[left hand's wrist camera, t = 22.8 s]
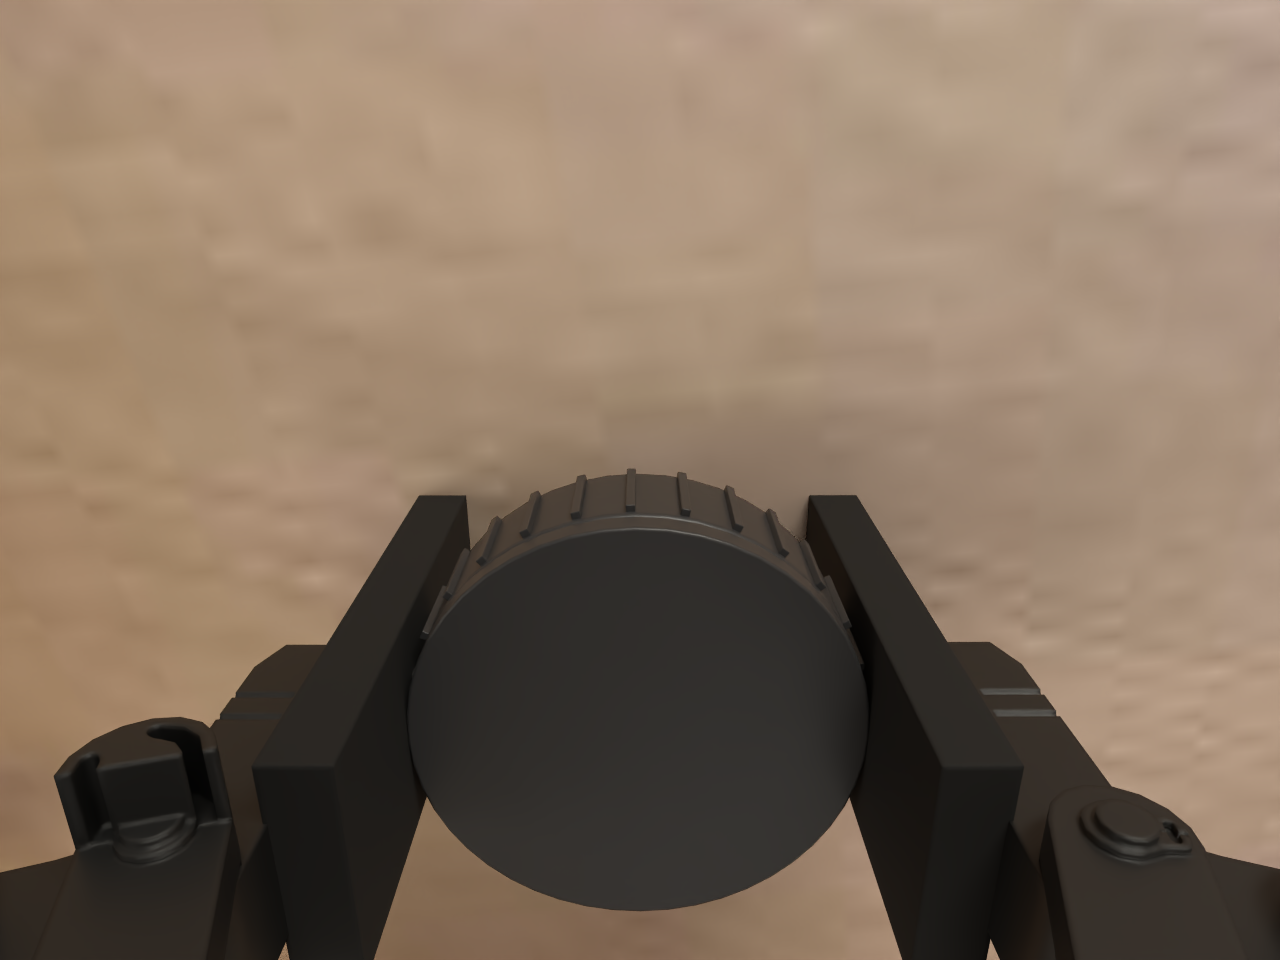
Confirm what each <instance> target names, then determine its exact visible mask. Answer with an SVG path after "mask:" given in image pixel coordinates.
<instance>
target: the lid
mask: <svg viewBox="0 0 1280 960" xmlns="http://www.w3.org/2000/svg"><path fill="white" fill-rule="evenodd" d="M851 627H852V625H851V623H850V621H849V618H848V616H847V614H846V611H845V609H844V607H843V604H842V602H841V600H840V597H839V595H838V593H837V590H836V588H835V586H834V583H833V581H832V579H831V577H830V575H828V576H826V577H824V578H823V575H822V573H821V571H820V570H819V568H818V565H817V563H816V561H815V558H814V556H813V553H812V551H811V548H810V546H809V544H808V543H807V541H806V540H805V539H803V540H802V541H801V542H798V541H797V540H796V539H795V537H794V536H793V535H792V534H791V533H790V532H789V531H788V530H787V529H785V528H784V527H783V526H782V525H781V524H779V521H778V519H777V516H776V513H775V512H774V511H773V510H771V509H768V510H767V512H766V513H765V512H764V511H762V510H760V509H759V508H757V507H756V506H754V505H752V504H751V503H749V502H748V501H746V500H744V499H742V498H740V497H737V496H736V495H735V491H734V488H731V487H729V486H726V487H725V489H724V490H722V489H719V488H716V487H713V486H710V485H706V484H703V483H700V482H697V481H693V480H688V479H687V476H686V473H681V472H678V474H677V477H671V476H665V475H647V474H636V469H627V475H614V476H605V477H600V478H594V479H589V480H587V479H586V475H581V476H578V477H577V481H576V483H573V484H570V485H567V486H564V487H561V488H558V489H555V490H552V491H550V492H548V493H546V494H544V495H542V496H541V495H540V493H539V491H536V492H534V493H532V494H531V496H530V499H529V502H527V503H525V504H524V505H522V506H521V507H519V508H518V509H516V510H515V511H513V512H512V513H510V514H509V515H507V516H506V517H504V518H503V519H502V520H501V519H500V518H499V517H498V516H496V517H495V518H494V519H493V520H492V521H491V523H490V526H489V528H488V531H487V533H486V534H485V535H484V536H483V537H482V538H481V539H480V540H479V542H478V543H477V544H476V545H475V546H474V547H473V548H472V550H471V551H469V550H467V549H466V548H465V549H464V550H463V551H462V552H461V554H460V556H459V559H458V561H457V563H456V566H455V568H454V570H453V573H452V575H451V577H450V579H449V582H448V584H447V586H444V585H443V586H442V588H441V590H440V592H439V595H438V597H437V599H436V601H435V604H434V606H433V608H432V610H431V613H430V615H429V617H428V619H427V622H426V624H425V626H424V628H423V631H422V633H421V635H420V638H421V639H423V640H426V641H425V644H424V646H423V649H422V651H421V653H420V655H419V658H418V660H417V662H416V666H415V668H414V671H413V673H412V680H411V684H410V688H409V696H408V706H407V730H408V741H409V746H410V751H411V755H412V760H413V764H414V767H415V770H416V772H417V775H418V778H419V780H420V783H421V786H422V788H423V790H424V792H425V794H426V795H427V797H428V799H429V801H430V803H431V805H432V806H433V808H434V810H435V811H436V813H437V814H438V815H439V817H440V818H441V819H442V821H443V822H444V823H445V825H446V826H447V827H448V829H449V830H450V831H451V832H452V833H453V834H454V835H455V836H456V837H457V838H458V839H459V840H460V841H461V842H462V843H463V844H464V845H465V847H466V848H467V849H469V850H470V851H471V852H472V853H474V854H475V855H476V856H477V857H479V858H480V859H481V860H482V861H484V862H485V863H486V864H487V865H489V866H490V867H492V868H494V869H495V870H497V871H498V872H500V873H502V874H503V875H505V876H506V877H508V878H509V879H511V880H513V881H516V882H518V883H520V884H522V885H524V886H526V887H528V888H530V889H532V890H534V891H537V892H540V893H542V894H545V895H548V896H551V897H554V898H556V899H559V900H563V901H567V902H571V903H575V904H579V905H583V906H589V907H596V908H603V909H610V910H625V911H652V910H669V909H675V908H681V907H688V906H694V905H698V904H702V903H706V902H710V901H714V900H717V899H721V898H724V897H727V896H729V895H732V894H735V893H737V892H740V891H743V890H745V889H748V888H750V887H752V886H754V885H756V884H758V883H759V882H761V881H763V880H765V879H767V878H769V877H771V876H773V875H774V874H776V873H777V872H779V871H780V870H782V869H783V868H785V867H786V866H788V865H790V864H791V863H793V862H794V861H795V860H796V859H797V858H799V857H800V856H801V855H802V854H803V853H804V852H806V851H807V850H808V849H809V848H810V847H812V846H813V845H814V844H815V843H816V841H817V840H818V839H819V838H820V837H821V836H822V835H823V834H824V833H825V832H826V831H827V830H828V829H829V827H830V826H831V825H832V823H833V822H834V821H835V819H836V818H837V816H838V815H839V814H840V812H841V811H842V809H843V808H844V806H845V805H846V803H847V801H848V799H849V797H850V795H851V793H852V791H853V789H854V787H855V785H856V783H857V780H858V777H859V774H860V771H861V768H862V765H863V762H864V759H865V754H866V748H867V742H868V736H869V711H870V709H869V702H868V695H867V688H866V682H865V679H864V676H863V673H862V671H863V670H865V664H864V661H863V659H862V656H861V654H860V652H859V649H858V647H857V644H856V642H855V640H854V637H853V635H852V633H851V630H850V628H851Z"/></svg>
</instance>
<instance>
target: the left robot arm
mask: <svg viewBox="0 0 1280 960" xmlns="http://www.w3.org/2000/svg"><path fill="white" fill-rule="evenodd" d="M806 541H807V543H808V544H809V546H810V548H811V551H812V553H813V556H814V558H815V561H816V563H817V565H818V568H819V570H820V571H821V573H822V575H823V578H824V577H826V576H828V575H830V577H831V579H832V581H833V583H834V586H835V588H836V590H837V593H838V595H839V597H840V600H841V602H842V604H843V607H844V609H845V611H846V614H847V616H848V618H849V621H850V623H851V625H852V627H851V628H850V630H851V633H852V635H853V637H854V640H855V642H856V644H857V647H858V649H859V652H860V654H861V656H862V659H863V661H864V664H865V670H863V671H862V673H863V676H864V679H865V682H866V688H867V695H868V702H869V709H870V711H869V736H868V742H867V748H866V754H865V759H864V762H863V765H862V768H861V771H860V774H859V777H858V780H857V783H856V785H855V787H854V789H853V791H852V793H851V795H850V801H851V804H852V807H853V810H854V813H855V816H856V819H857V822H858V825H859V828H860V831H861V834H862V837H863V840H864V843H865V847H866V850H867V853H868V856H869V859H870V862H871V865H872V868H873V871H874V874H875V877H876V880H877V883H878V886H879V889H880V893H881V896H882V899H883V902H884V905H885V908H886V911H887V914H888V917H889V920H890V923H891V926H892V929H893V932H894V935H895V939H896V942H897V945H898V948H899V951H900V954H901V957H902V960H986V959H987V954H988V949H989V944H990V939H991V941H992V943H993V945H994V947H995V950H996V952H997V954H998V956H999V959H1000V960H1280V869H1277V868H1272V867H1268V866H1263V865H1259V864H1254V863H1250V862H1245V861H1241V860H1236V859H1232V858H1227V857H1223V856H1219V855H1216V854H1212V853H1209V852H1206V851H1205V848H1204V847H1203V845H1202V844H1201V842H1200V841H1199V839H1198V838H1197V836H1196V835H1195V833H1194V832H1193V830H1192V829H1191V827H1189V826H1188V825H1187V824H1186V823H1184V822H1183V821H1182V820H1181V819H1180V818H1178V817H1177V816H1176V815H1175V814H1173V813H1172V812H1171V811H1170V810H1169V809H1167V808H1165V807H1163V806H1161V805H1159V804H1157V803H1155V802H1153V801H1151V800H1149V799H1147V798H1145V797H1144V796H1142V795H1139V794H1136V793H1132V792H1129V791H1125V790H1122V789H1118V788H1115V787H1112V786H1111V785H1110V784H1109V782H1108V781H1107V780H1106V778H1105V777H1104V776H1103V774H1102V773H1101V771H1100V770H1099V769H1098V767H1097V766H1096V765H1095V763H1094V762H1093V761H1092V759H1091V758H1090V757H1089V755H1088V754H1087V752H1086V751H1085V750H1084V748H1083V747H1082V746H1081V744H1080V743H1079V742H1078V740H1077V739H1076V737H1075V736H1074V735H1073V733H1072V732H1071V731H1070V729H1069V728H1068V727H1067V725H1066V724H1065V723H1064V721H1063V720H1062V718H1061V717H1060V716H1056V710H1055V709H1054V708H1053V706H1052V705H1051V703H1050V702H1049V701H1048V699H1047V698H1046V697H1045V695H1041V693H1040V688H1039V687H1038V686H1037V684H1036V683H1035V682H1034V680H1033V679H1032V678H1031V676H1030V675H1029V674H1028V672H1027V671H1026V669H1025V668H1024V667H1023V665H1022V664H1021V663H1019V662H1018V661H1016V660H1015V659H1014V658H1012V657H1011V656H1009V655H1008V654H1006V653H1005V652H1003V651H1002V650H1000V649H999V648H998V647H996V646H995V645H993V644H992V643H990V642H947V641H946V639H945V638H944V636H943V634H942V633H941V631H940V630H939V628H938V626H937V625H936V623H935V621H934V620H933V618H932V617H931V615H930V613H929V612H928V610H927V609H926V607H925V605H924V604H923V602H922V601H921V599H920V597H919V596H918V594H917V592H916V591H915V589H914V588H913V586H912V584H911V583H910V581H909V580H908V578H907V576H906V575H905V573H904V572H903V570H902V568H901V567H900V565H899V563H898V562H897V560H896V559H895V557H894V555H893V554H892V552H891V551H890V549H889V547H888V546H887V544H886V542H885V541H884V539H883V538H882V536H881V534H880V533H879V531H878V530H877V528H876V526H875V525H874V523H873V522H872V520H871V518H870V517H869V515H868V513H867V512H866V510H865V509H864V507H863V505H862V504H861V502H860V501H859V499H858V497H857V496H856V495H817V496H810V497H809V510H808V523H807V536H806ZM465 548H466V549H467V550H469V551H470V540H469V527H468V515H467V503H466V496H419V497H418V498H417V500H416V501H415V503H414V505H413V506H412V508H411V510H410V511H409V513H408V514H407V516H406V518H405V519H404V521H403V522H402V524H401V526H400V527H399V529H398V530H397V532H396V534H395V535H394V537H393V539H392V540H391V542H390V543H389V545H388V547H387V548H386V550H385V551H384V553H383V555H382V556H381V558H380V559H379V561H378V563H377V564H376V566H375V568H374V569H373V571H372V572H371V574H370V576H369V577H368V579H367V580H366V582H365V584H364V585H363V587H362V589H361V590H360V592H359V593H358V595H357V597H356V598H355V600H354V601H353V603H352V605H351V606H350V608H349V609H348V611H347V613H346V614H345V616H344V618H343V619H342V621H341V622H340V624H339V626H338V627H337V629H336V630H335V632H334V634H333V635H332V637H331V638H330V640H329V642H328V643H327V645H286V646H284V647H283V648H281V649H280V650H278V651H277V652H275V653H274V654H273V655H271V656H270V657H268V658H267V659H265V660H264V661H262V662H261V663H260V664H258V665H257V666H255V667H254V668H253V670H252V671H251V673H250V674H249V675H248V677H247V678H246V679H245V681H244V682H243V683H242V685H241V686H240V688H239V689H238V690H237V692H236V697H235V698H232V699H231V700H230V701H229V703H228V704H227V705H226V707H225V708H224V709H223V711H222V712H221V714H220V719H219V720H215V722H214V723H213V725H212V726H211V727H210V728H209V727H208V726H206V725H205V724H204V723H203V722H200V721H196V720H191V719H187V718H182V717H172V718H154V719H149V720H145V721H141V722H137V723H133V724H129V725H125V726H122V727H120V728H117V729H115V730H113V731H111V732H109V733H106V734H104V735H102V736H100V737H98V738H95V739H93V740H92V741H90V742H89V743H88V744H86V745H85V746H83V747H82V748H81V749H79V750H78V751H76V752H75V753H74V754H72V755H71V756H69V757H68V759H67V760H66V761H65V762H64V764H63V765H62V766H61V768H60V769H59V770H58V771H57V773H56V774H55V775H54V779H55V782H56V786H57V789H58V792H59V795H60V799H61V802H62V805H63V809H64V812H65V815H66V819H67V822H68V825H69V829H70V832H71V835H72V839H73V842H74V845H75V849H76V850H75V852H74V855H71V856H67V857H64V858H61V859H57V860H54V861H49V862H45V863H41V864H36V865H32V866H27V867H23V868H19V869H14V870H10V871H5V872H1V873H0V960H278V958H279V956H280V954H281V952H282V949H283V947H284V945H285V943H286V944H287V949H288V954H289V959H290V960H374V957H375V954H376V951H377V948H378V945H379V942H380V938H381V935H382V932H383V929H384V926H385V923H386V920H387V917H388V914H389V911H390V908H391V905H392V902H393V899H394V896H395V892H396V889H397V886H398V883H399V880H400V877H401V874H402V871H403V868H404V865H405V862H406V859H407V856H408V853H409V849H410V846H411V843H412V840H413V837H414V834H415V831H416V828H417V825H418V822H419V819H420V816H421V813H422V810H423V806H424V803H425V800H426V797H427V795H426V794H425V792H424V790H423V788H422V786H421V783H420V780H419V778H418V775H417V772H416V770H415V767H414V764H413V760H412V755H411V751H410V746H409V741H408V730H407V706H408V696H409V688H410V684H411V680H412V673H413V671H414V668H415V666H416V662H417V660H418V658H419V655H420V653H421V651H422V649H423V646H424V644H425V641H426V640H423V639H421V638H420V635H421V633H422V631H423V628H424V626H425V624H426V622H427V619H428V617H429V615H430V613H431V610H432V608H433V606H434V604H435V601H436V599H437V597H438V595H439V592H440V590H441V588H442V586H443V585H444V586H447V584H448V582H449V579H450V577H451V575H452V573H453V570H454V568H455V566H456V563H457V561H458V559H459V556H460V554H461V552H462V551H463V550H464V549H465Z"/></svg>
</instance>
